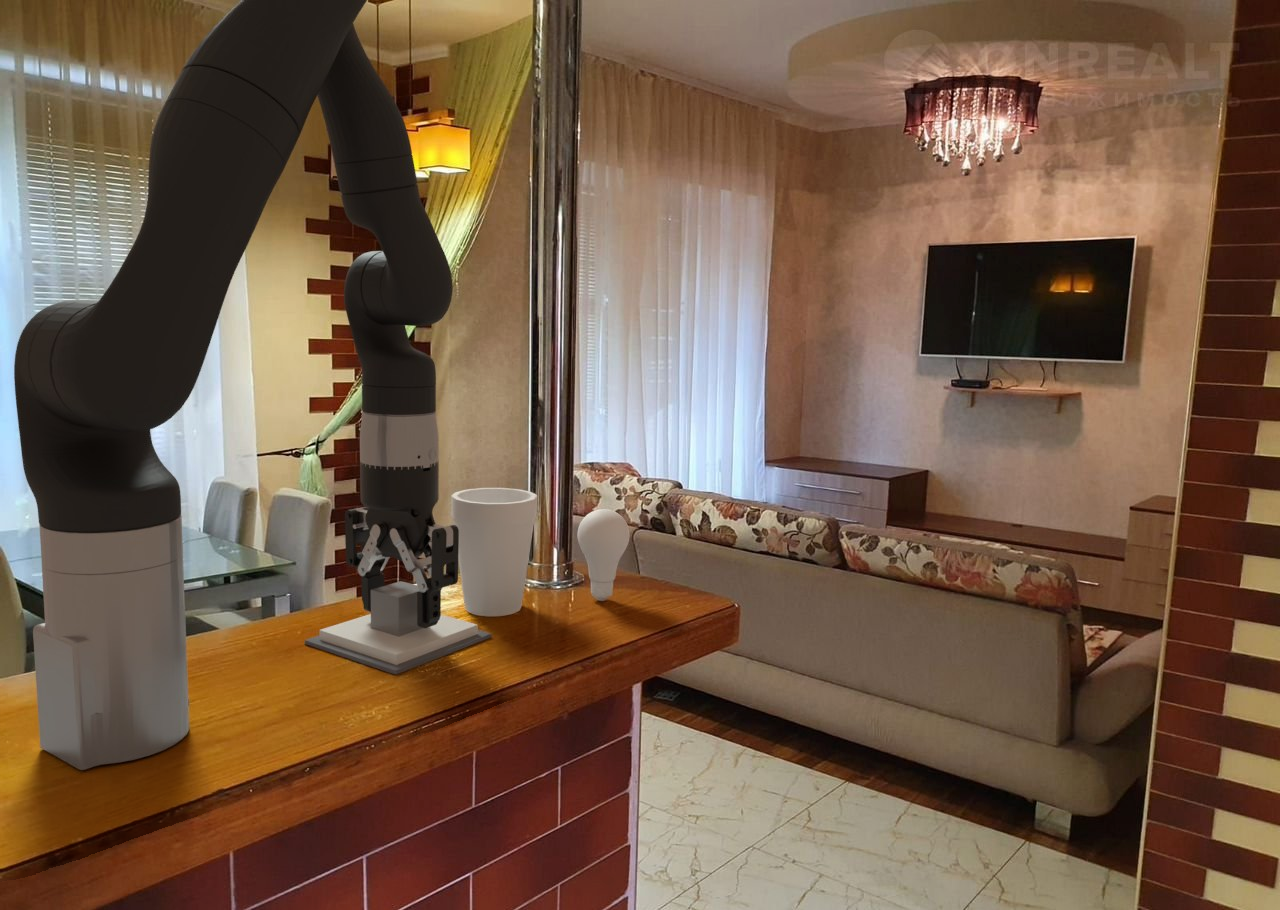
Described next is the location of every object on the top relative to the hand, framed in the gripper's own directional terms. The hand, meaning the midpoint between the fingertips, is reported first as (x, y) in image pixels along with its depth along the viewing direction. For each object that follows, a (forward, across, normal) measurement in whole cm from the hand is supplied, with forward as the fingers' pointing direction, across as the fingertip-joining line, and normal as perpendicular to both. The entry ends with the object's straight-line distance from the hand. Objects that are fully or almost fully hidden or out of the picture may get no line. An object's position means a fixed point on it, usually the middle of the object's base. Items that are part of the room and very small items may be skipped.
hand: (400, 617), depth 95 cm
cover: (+2, 0, 0) cm, 2 cm away
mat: (+2, 0, 0) cm, 2 cm away
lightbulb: (+3, +8, +24) cm, 25 cm away
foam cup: (+3, 0, +14) cm, 14 cm away
